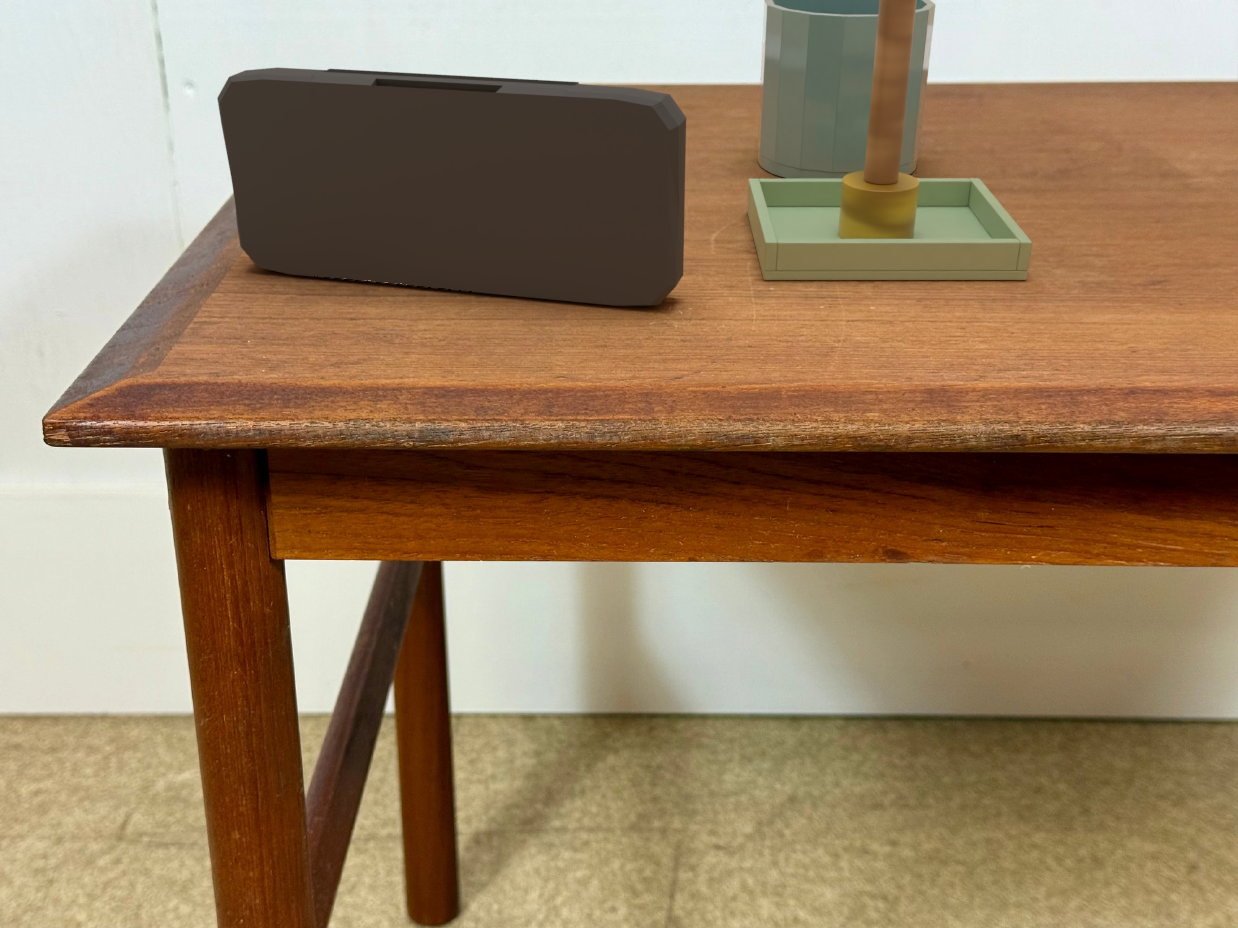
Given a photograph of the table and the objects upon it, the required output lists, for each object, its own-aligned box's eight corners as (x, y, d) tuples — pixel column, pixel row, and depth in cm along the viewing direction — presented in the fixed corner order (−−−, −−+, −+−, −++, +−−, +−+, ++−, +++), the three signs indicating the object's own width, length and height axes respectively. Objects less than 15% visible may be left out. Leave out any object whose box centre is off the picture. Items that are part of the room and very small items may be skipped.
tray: (975, 211, 73) (979, 178, 72) (1027, 280, 64) (1032, 242, 63) (746, 212, 74) (748, 178, 73) (763, 280, 64) (765, 242, 63)
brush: (905, 223, 70) (944, -136, 61) (919, 247, 67) (962, -130, 58) (833, 223, 70) (861, -136, 61) (843, 247, 67) (874, -130, 58)
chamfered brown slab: (686, 293, 62) (690, 86, 57) (673, 314, 60) (677, 99, 55) (265, 255, 68) (237, 62, 63) (239, 272, 65) (208, 73, 60)
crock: (900, 142, 87) (916, -12, 82) (930, 185, 78) (950, 15, 73) (752, 143, 87) (758, -11, 82) (764, 185, 78) (773, 16, 73)
